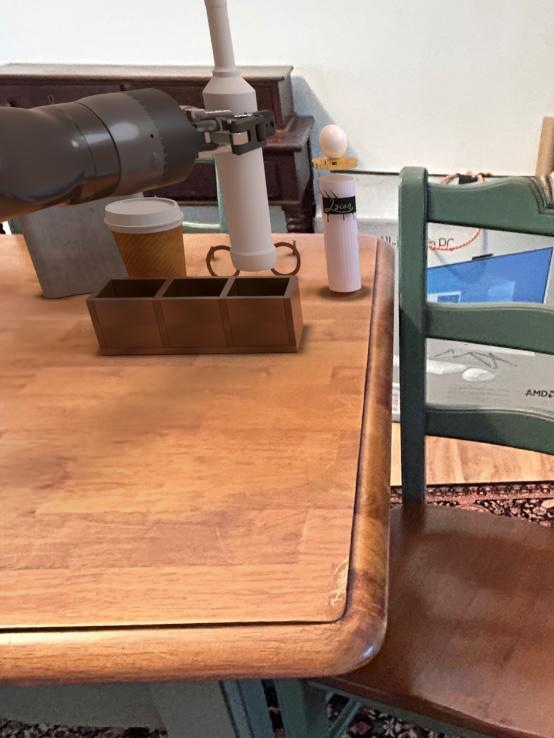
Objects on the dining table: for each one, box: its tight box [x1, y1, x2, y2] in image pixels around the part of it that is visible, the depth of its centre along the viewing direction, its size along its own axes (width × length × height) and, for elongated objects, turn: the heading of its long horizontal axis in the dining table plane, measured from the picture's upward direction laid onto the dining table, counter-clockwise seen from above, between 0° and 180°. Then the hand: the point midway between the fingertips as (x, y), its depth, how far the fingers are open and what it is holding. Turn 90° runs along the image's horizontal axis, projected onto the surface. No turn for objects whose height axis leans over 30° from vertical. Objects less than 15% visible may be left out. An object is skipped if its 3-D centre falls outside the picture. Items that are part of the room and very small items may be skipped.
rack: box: [85, 274, 305, 356], centre depth 87 cm, size 23×8×6 cm, turn 93°
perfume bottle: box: [311, 123, 362, 293], centre depth 97 cm, size 6×6×20 cm
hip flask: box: [16, 192, 145, 299], centre depth 97 cm, size 16×4×20 cm, turn 114°
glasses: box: [205, 239, 302, 276], centre depth 109 cm, size 13×13×5 cm
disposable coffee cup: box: [104, 196, 188, 277], centre depth 95 cm, size 10×10×12 cm
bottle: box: [201, 0, 278, 273], centre depth 76 cm, size 5×5×25 cm
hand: (249, 120), depth 77 cm, fingers closed on bottle, 5 cm apart
